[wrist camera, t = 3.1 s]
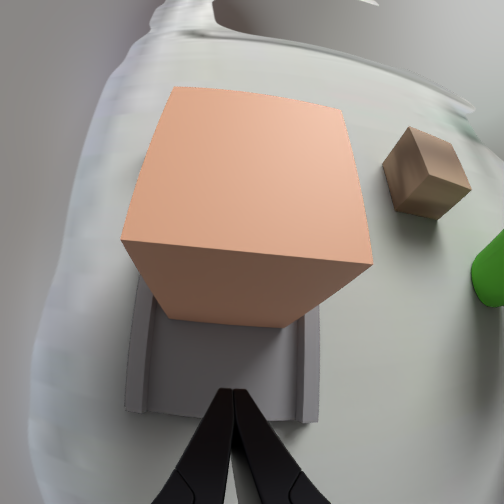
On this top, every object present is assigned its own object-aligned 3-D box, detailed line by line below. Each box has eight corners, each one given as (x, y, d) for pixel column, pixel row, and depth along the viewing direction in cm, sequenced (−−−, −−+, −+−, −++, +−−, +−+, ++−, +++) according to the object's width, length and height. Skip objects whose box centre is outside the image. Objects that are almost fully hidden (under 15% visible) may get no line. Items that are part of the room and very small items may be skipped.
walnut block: (436, 220, 21) (471, 189, 17) (394, 211, 21) (429, 174, 16) (422, 176, 24) (451, 143, 19) (381, 164, 23) (408, 126, 18)
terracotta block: (284, 327, 15) (373, 264, 7) (169, 318, 14) (120, 239, 6) (284, 227, 17) (341, 109, 9) (183, 217, 17) (173, 86, 9)
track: (311, 416, 14) (341, 426, 10) (128, 405, 13) (105, 413, 9) (302, 141, 22) (316, 107, 19) (180, 127, 21) (178, 89, 18)
